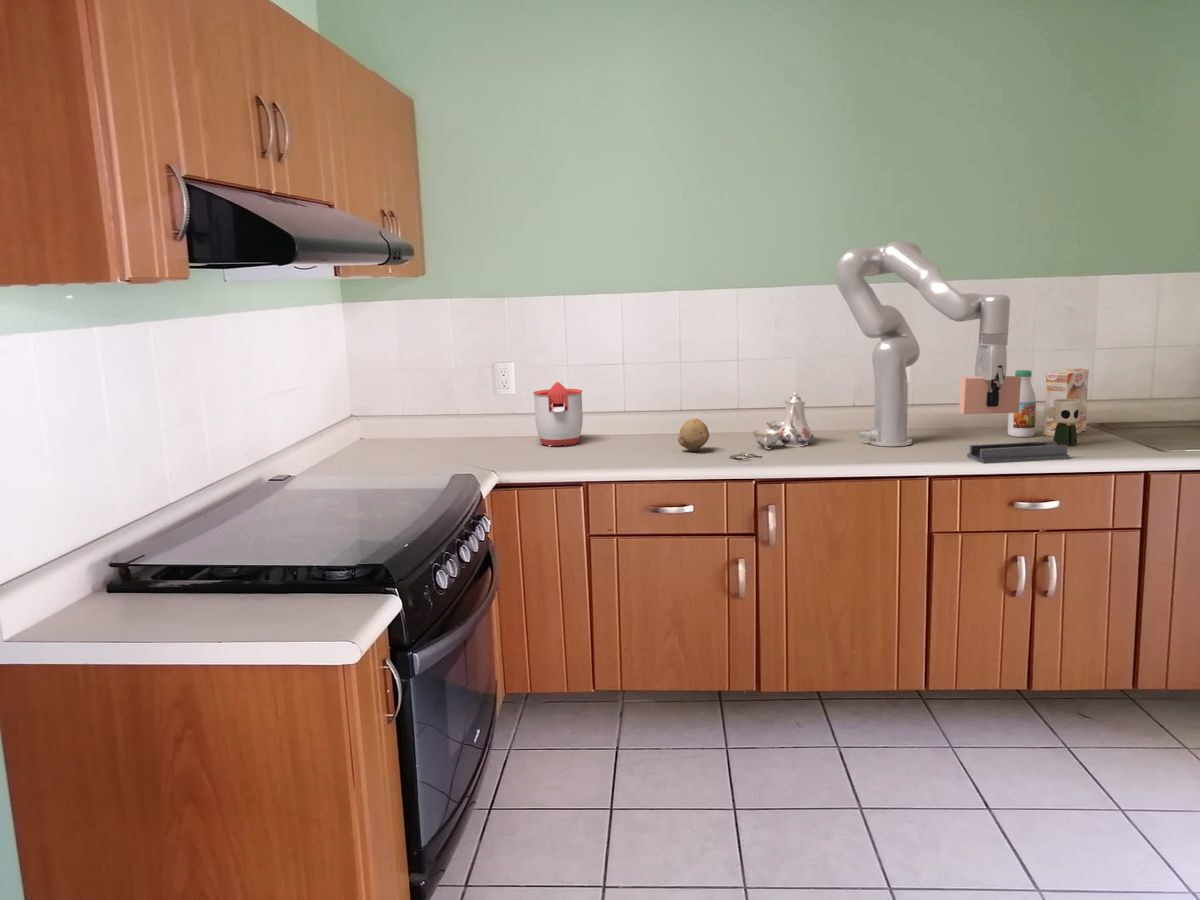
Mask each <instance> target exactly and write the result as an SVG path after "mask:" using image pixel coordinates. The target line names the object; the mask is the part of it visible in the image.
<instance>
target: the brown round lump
mask: <svg viewBox="0 0 1200 900" xmlns="http://www.w3.org/2000/svg"><path fill="white" fill-rule="evenodd" d="M709 437H710V433H709V429H708V426H707V425H706V424H705V422H703V420H701V419H698V418H690V419H688V420H686V421H685V422H684V423H683V424H682V426H681V428H680V431H679V433H678V435H677V442H678V444H679V445H680V446H681V447H683V448H685V449H686V450H688V451H690V452H693V453H695V452H698V451H699V450H700V449H702V447H704V446H705V445H706V444H707V442H708V441H709Z"/></svg>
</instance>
